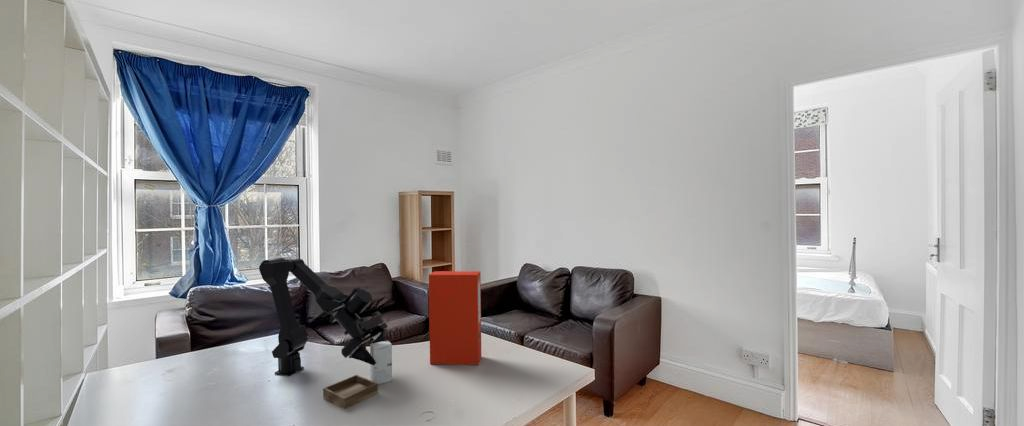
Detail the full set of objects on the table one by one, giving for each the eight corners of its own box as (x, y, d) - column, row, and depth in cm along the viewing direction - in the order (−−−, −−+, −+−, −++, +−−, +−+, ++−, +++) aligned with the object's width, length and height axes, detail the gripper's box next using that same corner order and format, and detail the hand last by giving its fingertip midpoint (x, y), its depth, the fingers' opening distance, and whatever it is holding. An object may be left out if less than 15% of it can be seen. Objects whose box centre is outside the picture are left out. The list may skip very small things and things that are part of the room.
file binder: (436, 355, 147) (434, 270, 146) (481, 356, 146) (480, 270, 145) (430, 364, 139) (428, 275, 138) (478, 365, 138) (476, 275, 137)
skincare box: (373, 385, 124) (372, 348, 123) (370, 380, 127) (369, 343, 127) (393, 380, 127) (392, 343, 127) (389, 375, 131) (388, 339, 130)
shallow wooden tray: (323, 398, 116) (323, 388, 116) (356, 383, 125) (356, 374, 125) (344, 409, 110) (344, 398, 110) (378, 393, 119) (377, 383, 119)
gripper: (348, 314, 118) (382, 353, 116) (382, 299, 137) (412, 332, 135) (326, 338, 120) (359, 377, 118) (362, 320, 139) (391, 353, 137)
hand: (382, 358), depth 127 cm, fingers open, 9 cm apart
